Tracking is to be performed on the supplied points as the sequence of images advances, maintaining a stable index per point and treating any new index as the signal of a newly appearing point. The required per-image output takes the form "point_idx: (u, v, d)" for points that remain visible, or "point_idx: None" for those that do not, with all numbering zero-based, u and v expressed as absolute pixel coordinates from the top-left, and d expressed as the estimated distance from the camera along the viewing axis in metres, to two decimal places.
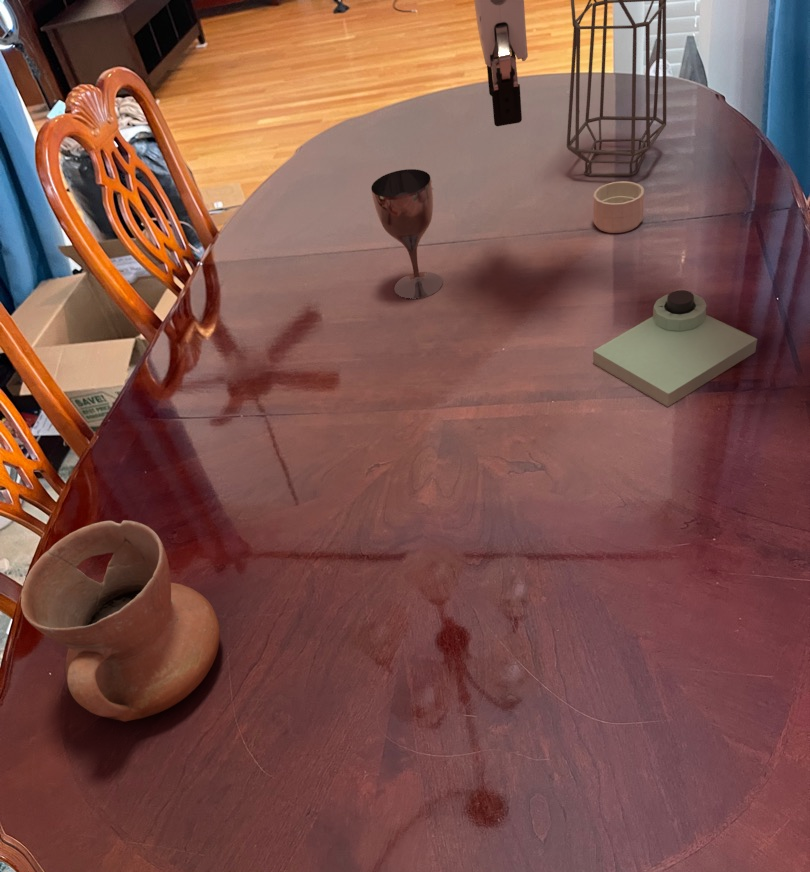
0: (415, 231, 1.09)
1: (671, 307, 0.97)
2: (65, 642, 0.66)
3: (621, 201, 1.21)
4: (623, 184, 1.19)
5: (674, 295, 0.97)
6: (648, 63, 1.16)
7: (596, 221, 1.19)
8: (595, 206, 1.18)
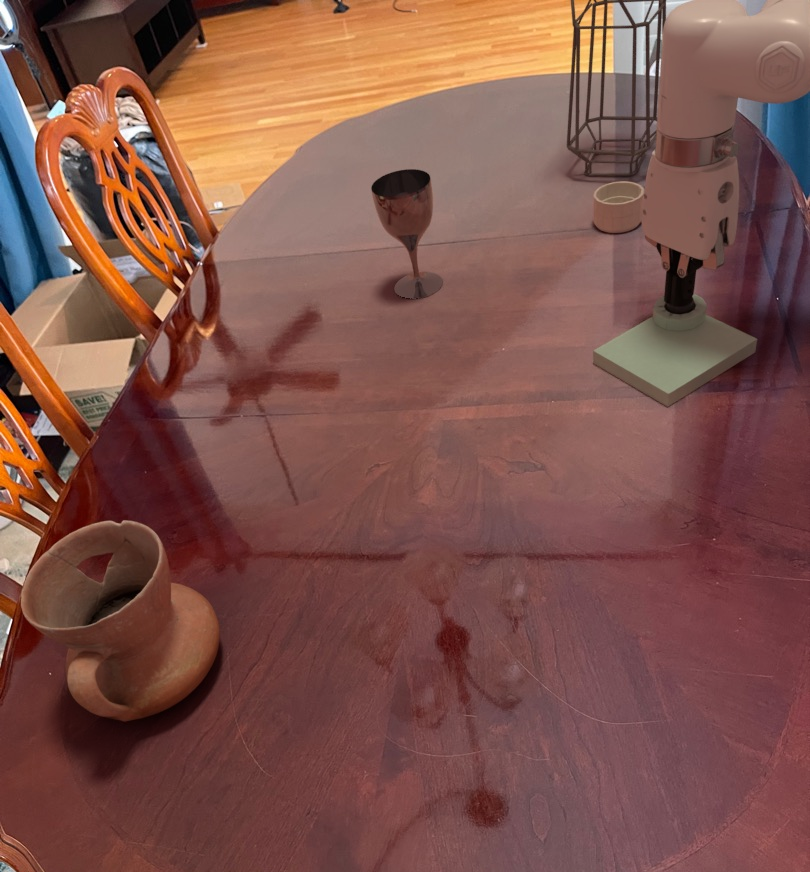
0: (415, 231, 1.09)
1: (671, 310, 0.97)
2: (65, 642, 0.66)
3: (621, 201, 1.21)
4: (623, 184, 1.19)
5: None
6: (648, 63, 1.16)
7: (596, 221, 1.19)
8: (595, 206, 1.18)
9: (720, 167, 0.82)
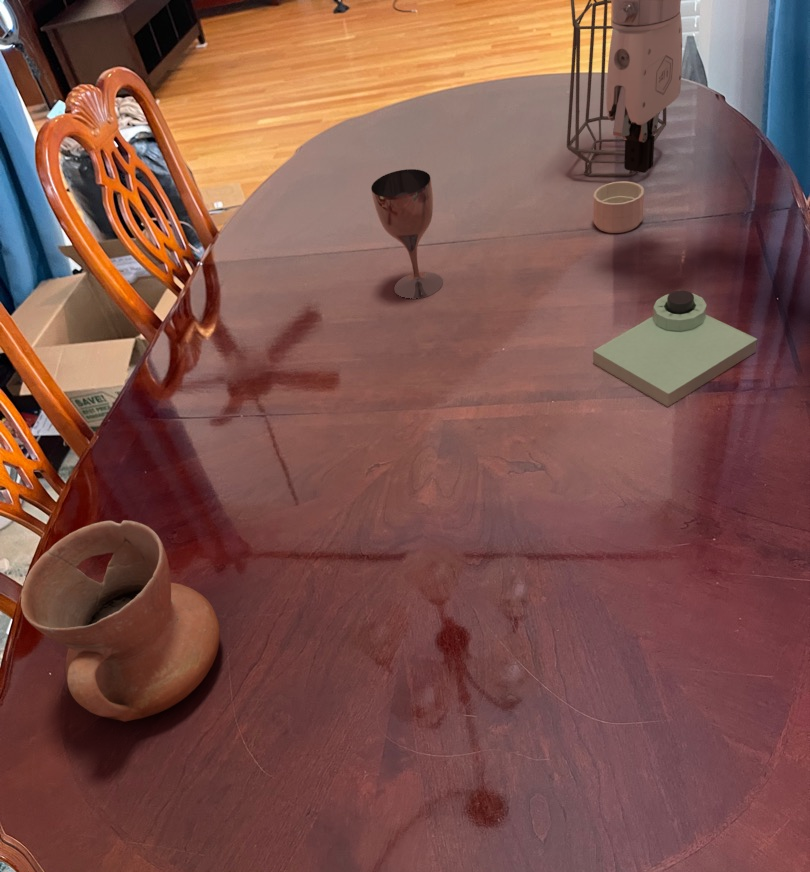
0: (415, 231, 1.09)
1: (671, 307, 0.97)
2: (65, 642, 0.66)
3: (621, 201, 1.21)
4: (623, 184, 1.19)
5: (674, 295, 0.97)
6: None
7: (596, 221, 1.19)
8: (595, 206, 1.18)
9: (623, 32, 0.91)
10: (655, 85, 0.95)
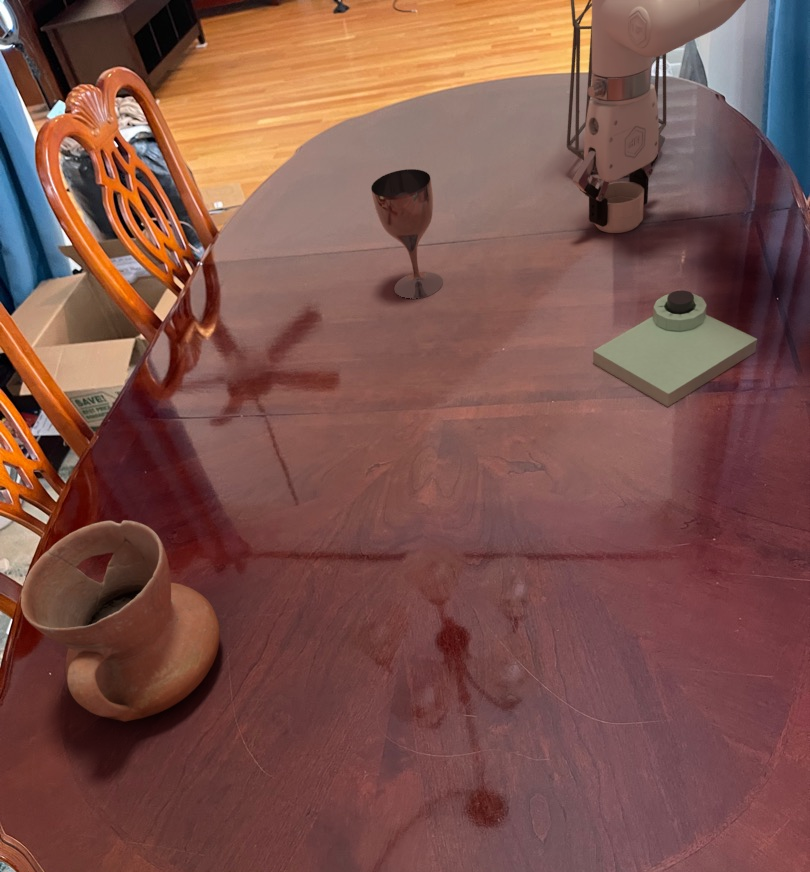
0: (415, 231, 1.09)
1: (671, 307, 0.97)
2: (65, 642, 0.66)
3: (621, 201, 1.21)
4: (623, 184, 1.19)
5: (674, 295, 0.97)
6: None
7: None
8: None
9: (596, 103, 1.07)
10: (624, 150, 1.10)
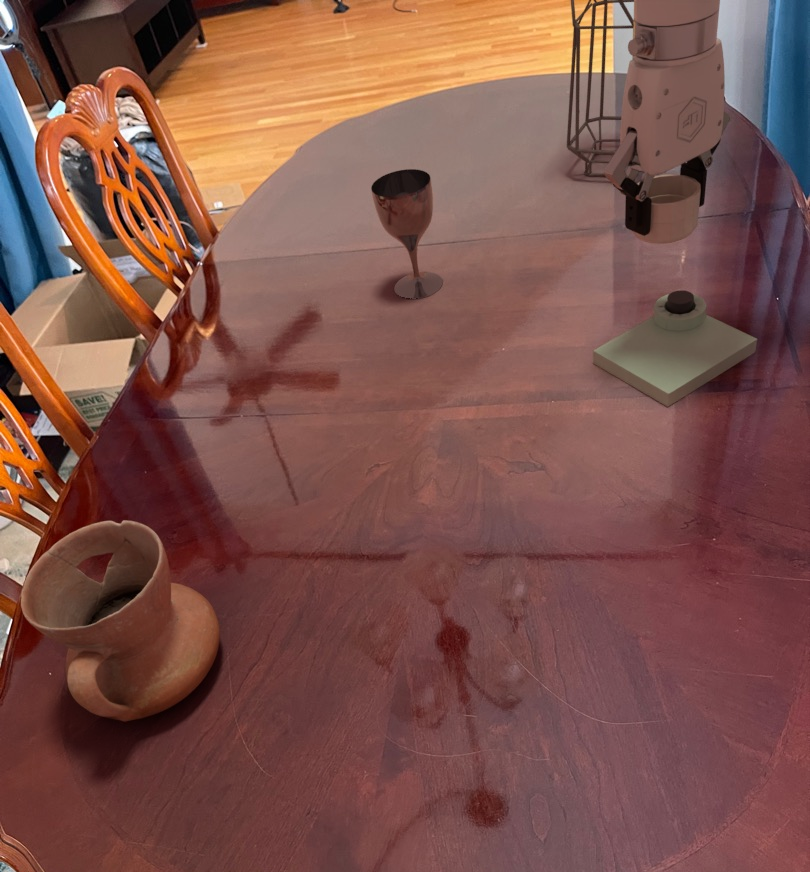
0: (415, 231, 1.09)
1: (671, 307, 0.97)
2: (65, 642, 0.66)
3: (669, 201, 0.91)
4: (671, 179, 0.89)
5: (674, 295, 0.97)
6: None
7: None
8: None
9: (639, 65, 0.76)
10: (676, 131, 0.79)
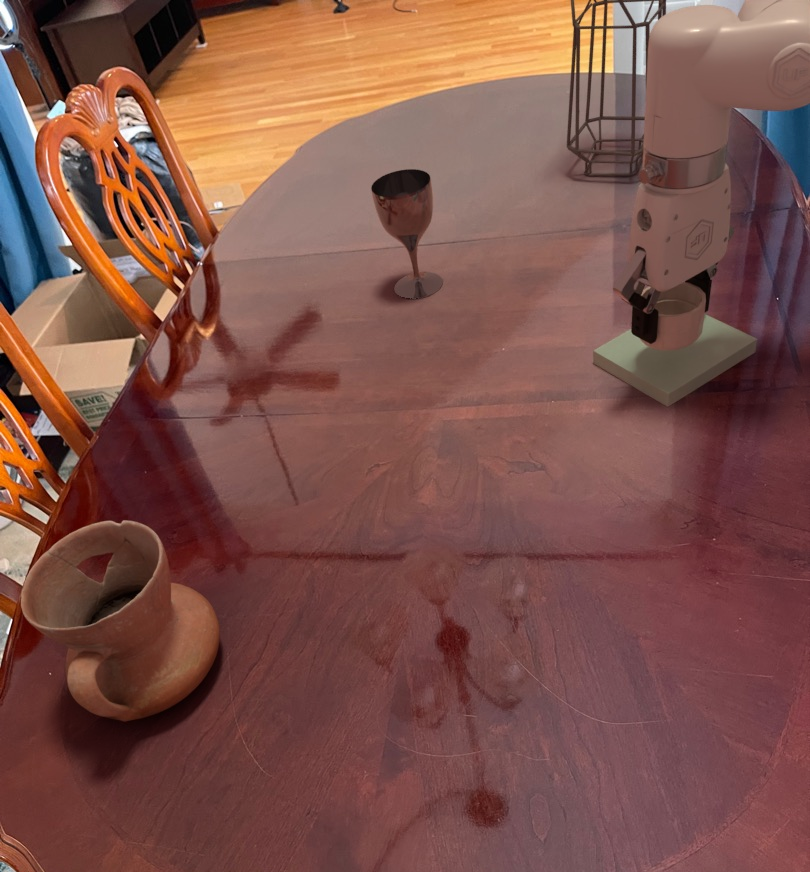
0: (415, 231, 1.09)
1: None
2: (65, 642, 0.66)
3: (673, 305, 0.92)
4: None
5: None
6: None
7: None
8: None
9: (648, 191, 0.77)
10: (684, 251, 0.80)
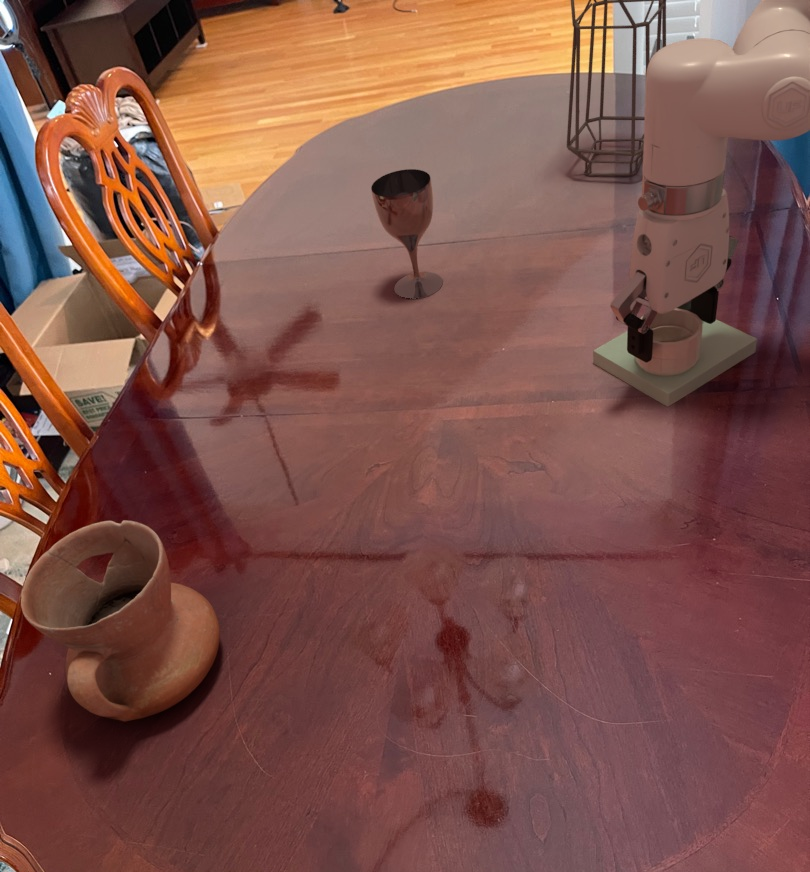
0: (415, 231, 1.09)
1: None
2: (65, 642, 0.66)
3: (671, 331, 0.94)
4: (674, 312, 0.93)
5: None
6: (648, 63, 1.16)
7: (639, 360, 0.92)
8: None
9: (648, 217, 0.79)
10: (684, 274, 0.82)
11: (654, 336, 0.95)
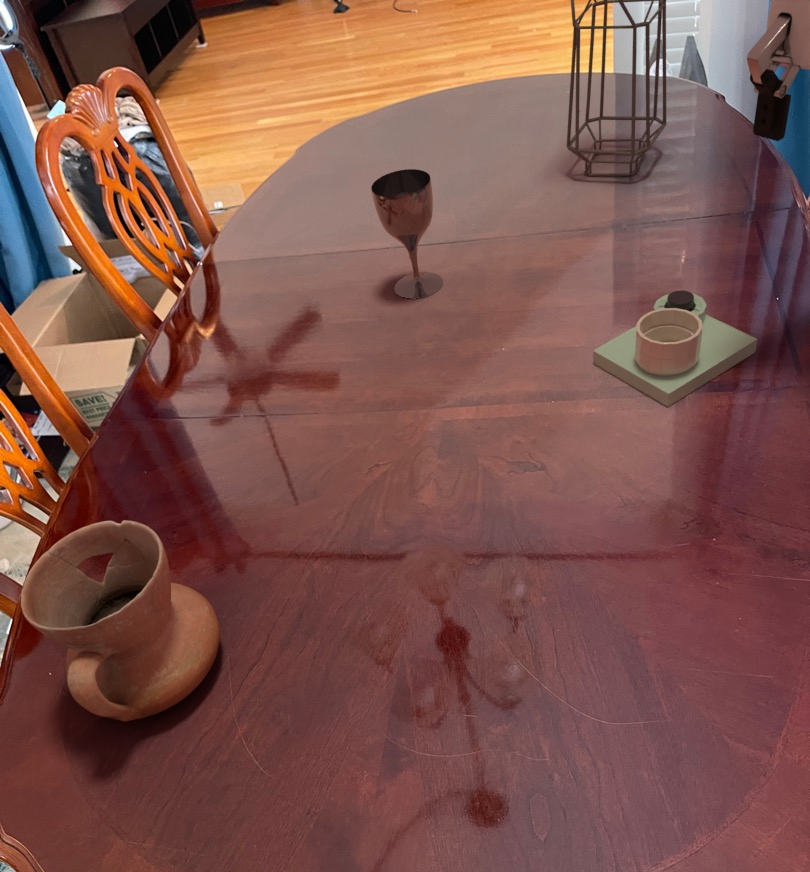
0: (415, 231, 1.09)
1: (671, 307, 0.97)
2: (65, 642, 0.66)
3: (671, 331, 0.94)
4: (674, 312, 0.93)
5: (674, 295, 0.97)
6: (648, 63, 1.16)
7: (639, 360, 0.92)
8: (638, 342, 0.91)
9: None
10: None
11: (654, 336, 0.95)
